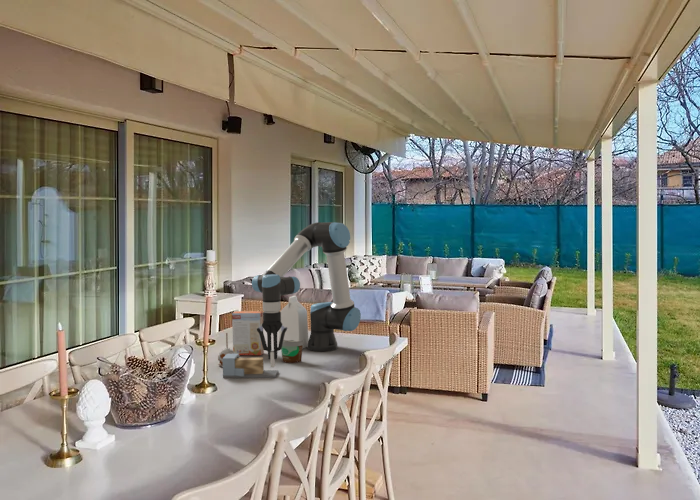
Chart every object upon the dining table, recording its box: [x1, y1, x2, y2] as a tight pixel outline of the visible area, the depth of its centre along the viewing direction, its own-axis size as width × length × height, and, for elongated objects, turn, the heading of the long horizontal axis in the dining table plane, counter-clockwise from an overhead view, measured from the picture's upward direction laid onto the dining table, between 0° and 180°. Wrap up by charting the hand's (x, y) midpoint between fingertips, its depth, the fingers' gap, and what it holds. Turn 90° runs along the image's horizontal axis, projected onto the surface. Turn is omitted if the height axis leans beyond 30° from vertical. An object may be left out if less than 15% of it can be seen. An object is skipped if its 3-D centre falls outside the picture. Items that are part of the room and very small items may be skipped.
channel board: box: [222, 354, 279, 379], centre depth 260 cm, size 22×11×8 cm, turn 88°
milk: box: [277, 295, 309, 350], centre depth 312 cm, size 12×12×26 cm
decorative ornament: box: [217, 332, 235, 368], centre depth 276 cm, size 8×8×15 cm
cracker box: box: [231, 310, 265, 356], centre depth 297 cm, size 14×6×21 cm, turn 84°
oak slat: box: [235, 357, 265, 374], centre depth 260 cm, size 14×4×6 cm, turn 92°
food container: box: [280, 340, 304, 364], centre depth 282 cm, size 12×6×10 cm, turn 62°
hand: (272, 366), depth 259 cm, fingers closed
